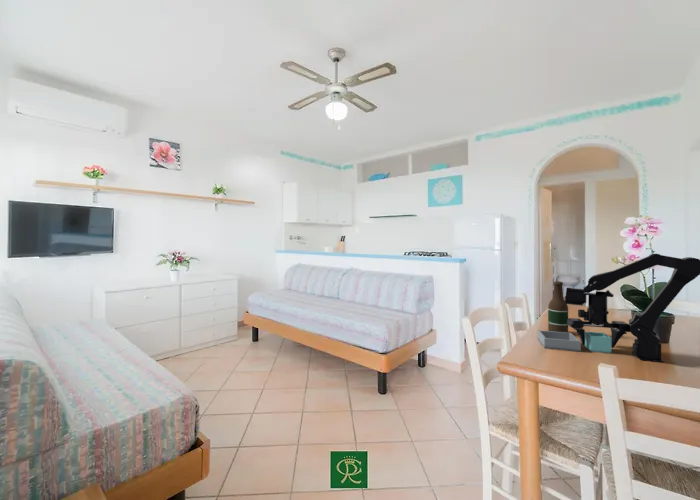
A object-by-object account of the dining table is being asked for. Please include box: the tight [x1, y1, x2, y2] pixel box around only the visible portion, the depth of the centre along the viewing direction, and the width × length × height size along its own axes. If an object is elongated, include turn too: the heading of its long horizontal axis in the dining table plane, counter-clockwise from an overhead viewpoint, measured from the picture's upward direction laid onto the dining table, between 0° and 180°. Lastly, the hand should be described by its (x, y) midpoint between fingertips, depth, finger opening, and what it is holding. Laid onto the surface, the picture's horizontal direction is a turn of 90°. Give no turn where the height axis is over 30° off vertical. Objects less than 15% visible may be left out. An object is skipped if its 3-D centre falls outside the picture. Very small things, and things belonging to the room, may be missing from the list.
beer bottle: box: [547, 281, 569, 333], centre depth 140 cm, size 8×8×24 cm
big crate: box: [537, 329, 582, 352], centre depth 123 cm, size 12×12×4 cm
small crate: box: [584, 331, 612, 354], centre depth 117 cm, size 6×6×6 cm
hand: (597, 346), depth 117 cm, fingers open, 9 cm apart
